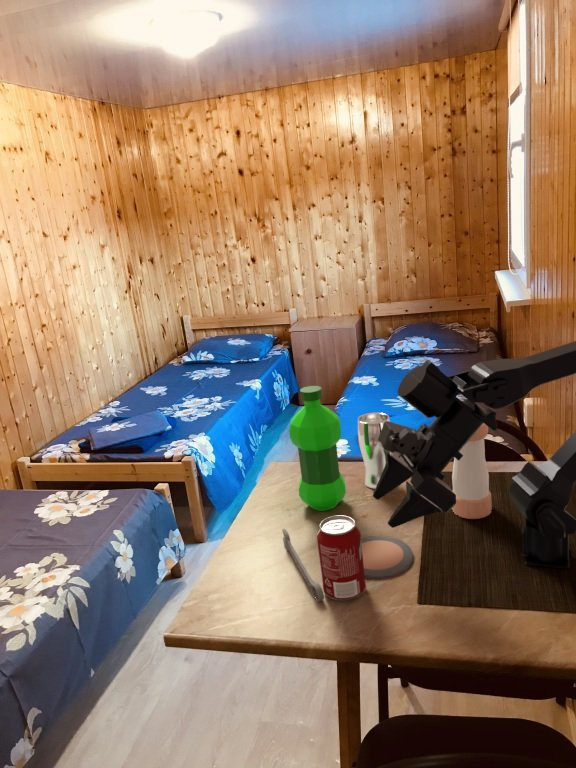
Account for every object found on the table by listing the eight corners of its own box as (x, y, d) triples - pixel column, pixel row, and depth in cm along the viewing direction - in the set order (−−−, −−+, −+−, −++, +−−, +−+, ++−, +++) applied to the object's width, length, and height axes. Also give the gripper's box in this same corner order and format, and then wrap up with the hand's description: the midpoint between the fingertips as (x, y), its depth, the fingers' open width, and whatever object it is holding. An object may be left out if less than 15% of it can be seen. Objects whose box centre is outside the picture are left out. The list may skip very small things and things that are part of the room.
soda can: (364, 604, 95) (357, 535, 91) (320, 603, 96) (312, 535, 93) (367, 578, 101) (361, 513, 98) (326, 578, 103) (319, 513, 99)
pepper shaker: (453, 519, 115) (448, 423, 110) (450, 500, 122) (445, 409, 117) (494, 518, 114) (491, 421, 108) (489, 499, 121) (486, 407, 115)
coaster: (418, 542, 109) (417, 538, 109) (405, 582, 99) (405, 578, 99) (352, 536, 114) (352, 533, 114) (333, 574, 103) (333, 570, 103)
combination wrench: (323, 586, 96) (286, 524, 114) (315, 588, 95) (280, 526, 114) (325, 606, 97) (289, 542, 115) (317, 608, 96) (282, 544, 115)
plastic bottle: (308, 491, 133) (294, 381, 126) (355, 494, 129) (344, 381, 122) (291, 514, 125) (276, 397, 117) (341, 518, 121) (328, 397, 113)
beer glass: (400, 478, 134) (395, 413, 130) (387, 492, 129) (382, 425, 124) (371, 474, 138) (365, 410, 134) (357, 487, 132) (351, 422, 128)
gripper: (391, 386, 100) (331, 459, 102) (429, 425, 82) (355, 512, 84) (441, 424, 103) (381, 495, 105) (488, 470, 85) (415, 553, 87)
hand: (382, 511), depth 95 cm, fingers open, 9 cm apart
